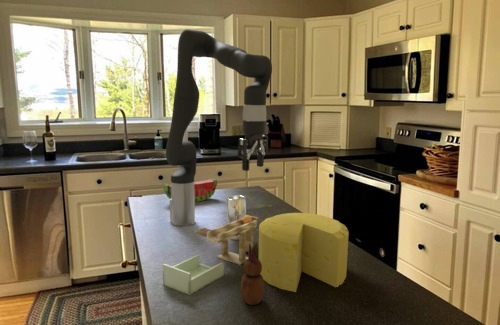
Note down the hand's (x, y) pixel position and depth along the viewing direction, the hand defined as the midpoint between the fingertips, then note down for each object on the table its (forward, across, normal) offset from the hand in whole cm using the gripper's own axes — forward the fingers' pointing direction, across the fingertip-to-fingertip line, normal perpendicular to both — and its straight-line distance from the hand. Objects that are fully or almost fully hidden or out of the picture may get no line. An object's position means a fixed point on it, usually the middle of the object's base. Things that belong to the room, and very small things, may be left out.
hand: (253, 168), depth 131 cm
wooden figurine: (+28, +28, +20) cm, 44 cm away
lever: (+20, +10, -3) cm, 22 cm away
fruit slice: (+30, -32, -56) cm, 71 cm away
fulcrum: (+28, +7, 0) cm, 29 cm away
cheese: (+28, +6, +22) cm, 36 cm away
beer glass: (+28, -6, -11) cm, 31 cm away
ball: (+17, +2, 0) cm, 17 cm away
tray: (+28, +28, 0) cm, 40 cm away
